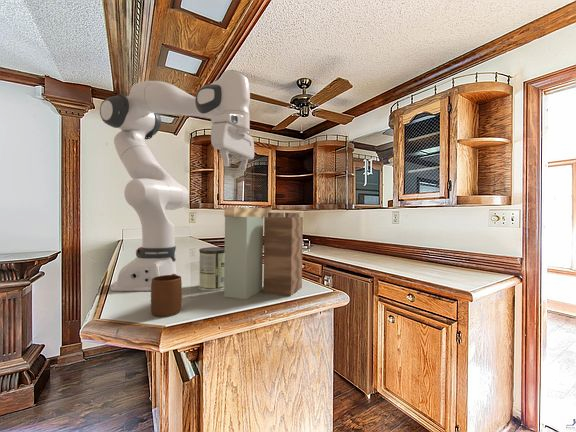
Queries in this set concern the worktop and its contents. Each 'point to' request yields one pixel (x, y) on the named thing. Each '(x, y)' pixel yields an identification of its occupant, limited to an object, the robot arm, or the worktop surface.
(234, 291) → the shelf block
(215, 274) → the coffee can
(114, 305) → the worktop surface
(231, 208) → the tan wooden bar
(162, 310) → the mug
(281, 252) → the brown wooden block
